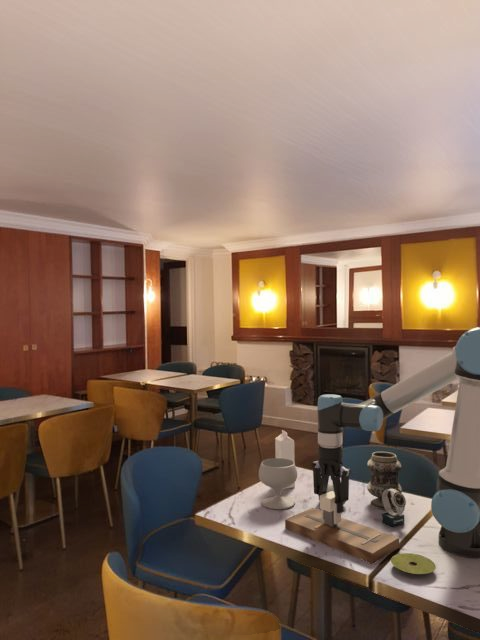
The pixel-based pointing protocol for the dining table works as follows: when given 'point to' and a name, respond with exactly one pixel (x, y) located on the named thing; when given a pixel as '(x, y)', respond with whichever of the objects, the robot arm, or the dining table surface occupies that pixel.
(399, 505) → the watch
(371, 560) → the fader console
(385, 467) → the apothecary jar
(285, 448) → the milk
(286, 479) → the chalice
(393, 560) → the mat
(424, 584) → the dining table surface
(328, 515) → the fader knob
